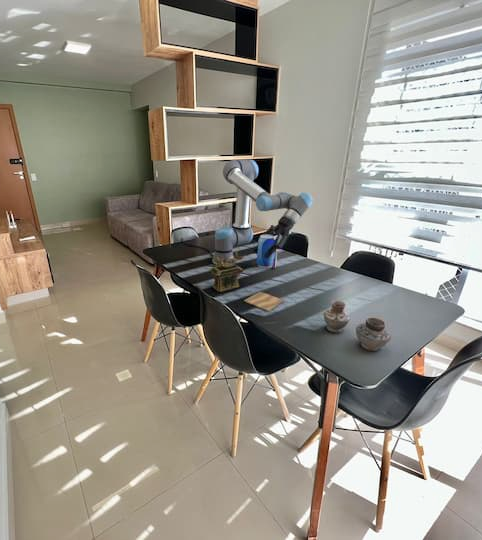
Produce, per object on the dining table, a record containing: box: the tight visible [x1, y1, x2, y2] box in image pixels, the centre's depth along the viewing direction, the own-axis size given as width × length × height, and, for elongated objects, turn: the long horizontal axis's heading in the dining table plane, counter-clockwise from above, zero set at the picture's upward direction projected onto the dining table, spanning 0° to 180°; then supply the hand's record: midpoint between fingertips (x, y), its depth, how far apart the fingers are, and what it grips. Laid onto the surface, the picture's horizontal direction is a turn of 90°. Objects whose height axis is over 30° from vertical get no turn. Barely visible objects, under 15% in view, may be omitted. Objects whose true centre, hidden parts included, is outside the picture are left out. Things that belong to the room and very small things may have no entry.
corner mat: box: [243, 291, 285, 312], centre depth 142 cm, size 14×14×1 cm
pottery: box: [323, 300, 392, 351], centre depth 111 cm, size 11×25×12 cm, turn 36°
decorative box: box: [208, 250, 246, 292], centre depth 156 cm, size 20×10×20 cm, turn 117°
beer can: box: [256, 234, 276, 269], centre depth 146 cm, size 8×8×16 cm
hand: (260, 254), depth 145 cm, fingers closed on beer can, 8 cm apart
